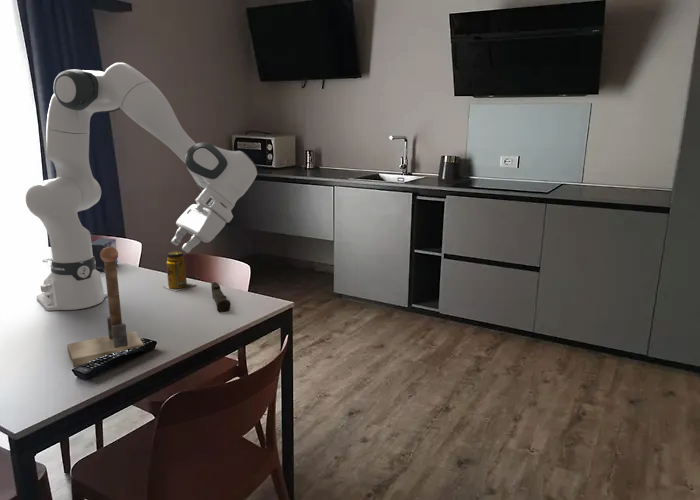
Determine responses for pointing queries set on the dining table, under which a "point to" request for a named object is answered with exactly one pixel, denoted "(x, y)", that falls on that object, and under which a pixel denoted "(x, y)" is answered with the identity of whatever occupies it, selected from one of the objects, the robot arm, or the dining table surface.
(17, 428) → the dining table surface
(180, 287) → the condiment
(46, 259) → the key
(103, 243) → the small box
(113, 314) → the lever
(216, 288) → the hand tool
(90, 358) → the press base
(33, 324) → the dining table surface
